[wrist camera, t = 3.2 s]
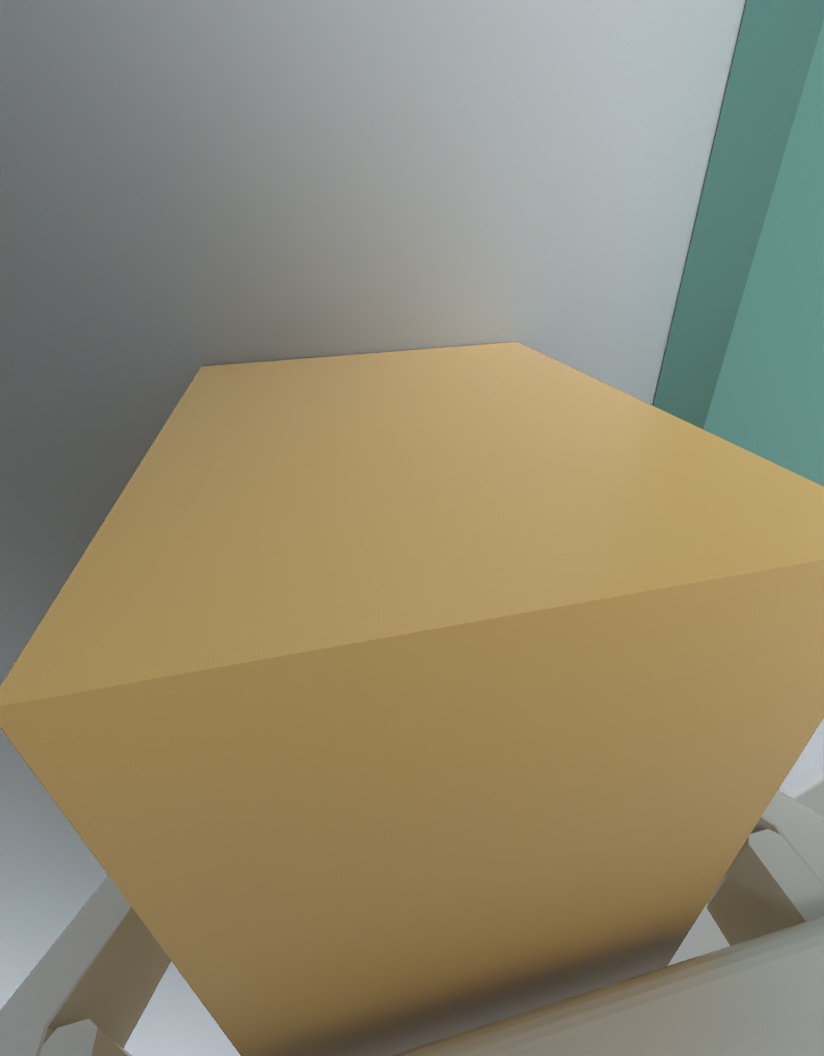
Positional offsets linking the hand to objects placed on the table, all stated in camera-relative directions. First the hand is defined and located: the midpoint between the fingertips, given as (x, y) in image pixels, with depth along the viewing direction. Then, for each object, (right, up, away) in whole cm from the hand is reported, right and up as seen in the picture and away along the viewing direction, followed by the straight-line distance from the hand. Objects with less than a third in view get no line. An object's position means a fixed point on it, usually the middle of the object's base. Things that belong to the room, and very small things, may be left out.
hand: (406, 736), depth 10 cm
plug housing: (-1, +2, +2) cm, 3 cm away
